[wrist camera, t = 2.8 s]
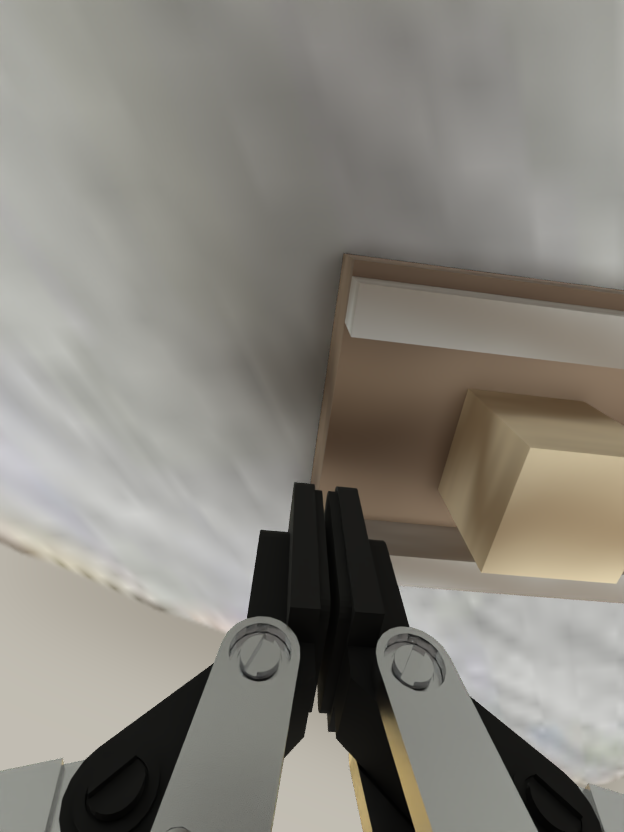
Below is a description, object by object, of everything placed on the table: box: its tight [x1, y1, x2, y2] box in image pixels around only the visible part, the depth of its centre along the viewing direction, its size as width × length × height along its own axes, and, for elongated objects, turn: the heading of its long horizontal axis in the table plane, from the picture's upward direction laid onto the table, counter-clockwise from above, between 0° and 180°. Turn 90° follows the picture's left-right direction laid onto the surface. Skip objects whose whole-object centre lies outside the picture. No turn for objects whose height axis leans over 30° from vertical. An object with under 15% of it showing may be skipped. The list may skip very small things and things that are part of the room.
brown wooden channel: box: [310, 253, 624, 603], centre depth 17 cm, size 12×22×6 cm, turn 83°
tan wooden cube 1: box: [438, 389, 624, 584], centre depth 14 cm, size 4×4×4 cm
